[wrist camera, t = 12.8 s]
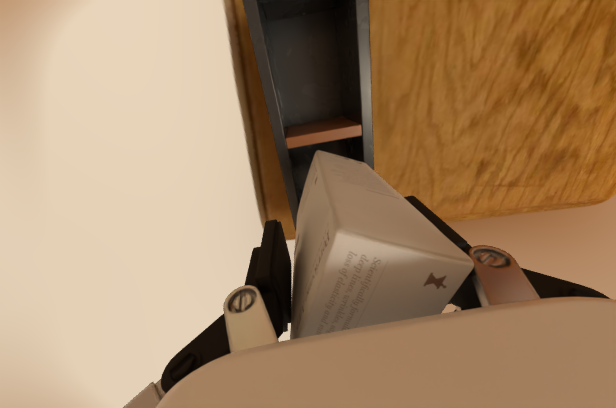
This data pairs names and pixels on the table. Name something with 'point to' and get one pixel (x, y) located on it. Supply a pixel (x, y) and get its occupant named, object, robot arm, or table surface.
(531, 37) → the table surface
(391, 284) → the cosmetic box
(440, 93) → the table surface
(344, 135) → the caddy
